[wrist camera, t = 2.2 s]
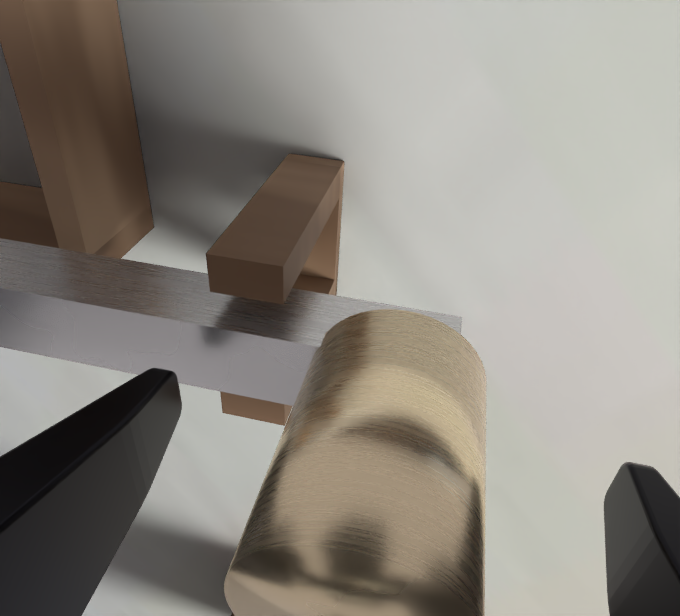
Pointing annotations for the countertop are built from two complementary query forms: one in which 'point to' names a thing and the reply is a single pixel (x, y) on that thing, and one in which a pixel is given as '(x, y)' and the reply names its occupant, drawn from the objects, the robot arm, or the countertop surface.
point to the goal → (74, 129)
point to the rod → (299, 423)
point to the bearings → (281, 250)
